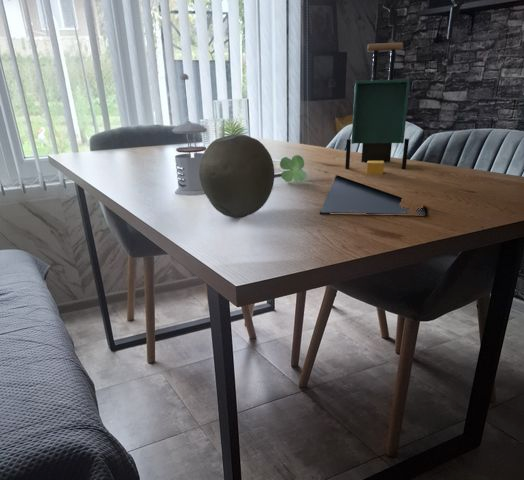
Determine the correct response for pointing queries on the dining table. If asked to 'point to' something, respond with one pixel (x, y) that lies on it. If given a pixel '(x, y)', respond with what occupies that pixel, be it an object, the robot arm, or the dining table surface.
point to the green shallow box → (380, 103)
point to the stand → (376, 152)
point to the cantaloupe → (237, 175)
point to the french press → (189, 157)
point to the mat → (361, 199)
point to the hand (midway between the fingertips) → (420, 40)
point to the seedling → (293, 169)
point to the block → (375, 167)
